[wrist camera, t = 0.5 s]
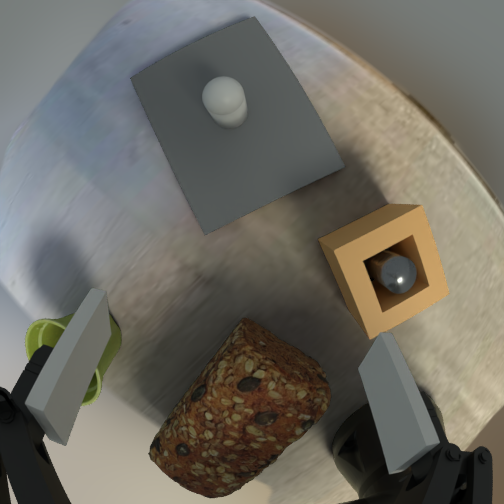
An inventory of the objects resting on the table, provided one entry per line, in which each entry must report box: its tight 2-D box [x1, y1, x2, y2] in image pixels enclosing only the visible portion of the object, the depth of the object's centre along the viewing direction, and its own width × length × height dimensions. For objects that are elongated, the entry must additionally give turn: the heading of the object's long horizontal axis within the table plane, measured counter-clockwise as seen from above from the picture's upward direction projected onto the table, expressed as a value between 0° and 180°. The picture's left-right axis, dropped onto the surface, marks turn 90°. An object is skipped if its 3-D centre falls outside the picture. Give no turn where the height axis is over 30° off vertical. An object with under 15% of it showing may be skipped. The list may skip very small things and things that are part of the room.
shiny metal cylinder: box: [363, 249, 417, 294], centre depth 25 cm, size 3×3×8 cm
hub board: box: [130, 16, 345, 235], centre depth 23 cm, size 18×14×8 cm
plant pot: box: [25, 313, 121, 406], centre depth 27 cm, size 9×9×9 cm
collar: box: [318, 204, 449, 340], centre depth 25 cm, size 8×8×7 cm
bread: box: [148, 318, 331, 498], centre depth 27 cm, size 19×11×10 cm, turn 145°
